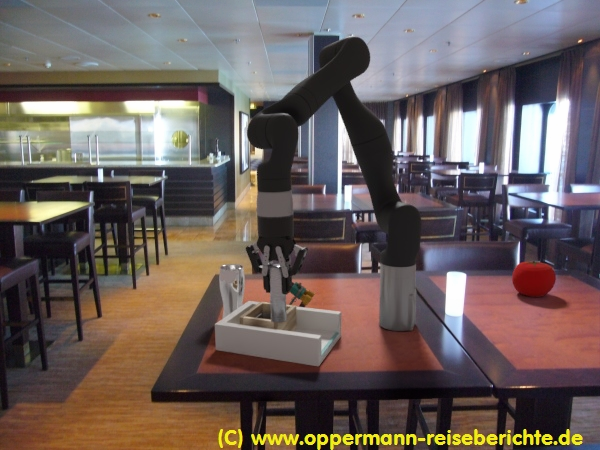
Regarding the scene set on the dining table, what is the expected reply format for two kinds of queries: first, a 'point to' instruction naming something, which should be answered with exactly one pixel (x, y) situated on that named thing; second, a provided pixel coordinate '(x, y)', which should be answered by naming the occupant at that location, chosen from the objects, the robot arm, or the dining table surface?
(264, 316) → the box
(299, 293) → the binoculars
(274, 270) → the handle peg
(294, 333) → the bay
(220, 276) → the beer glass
